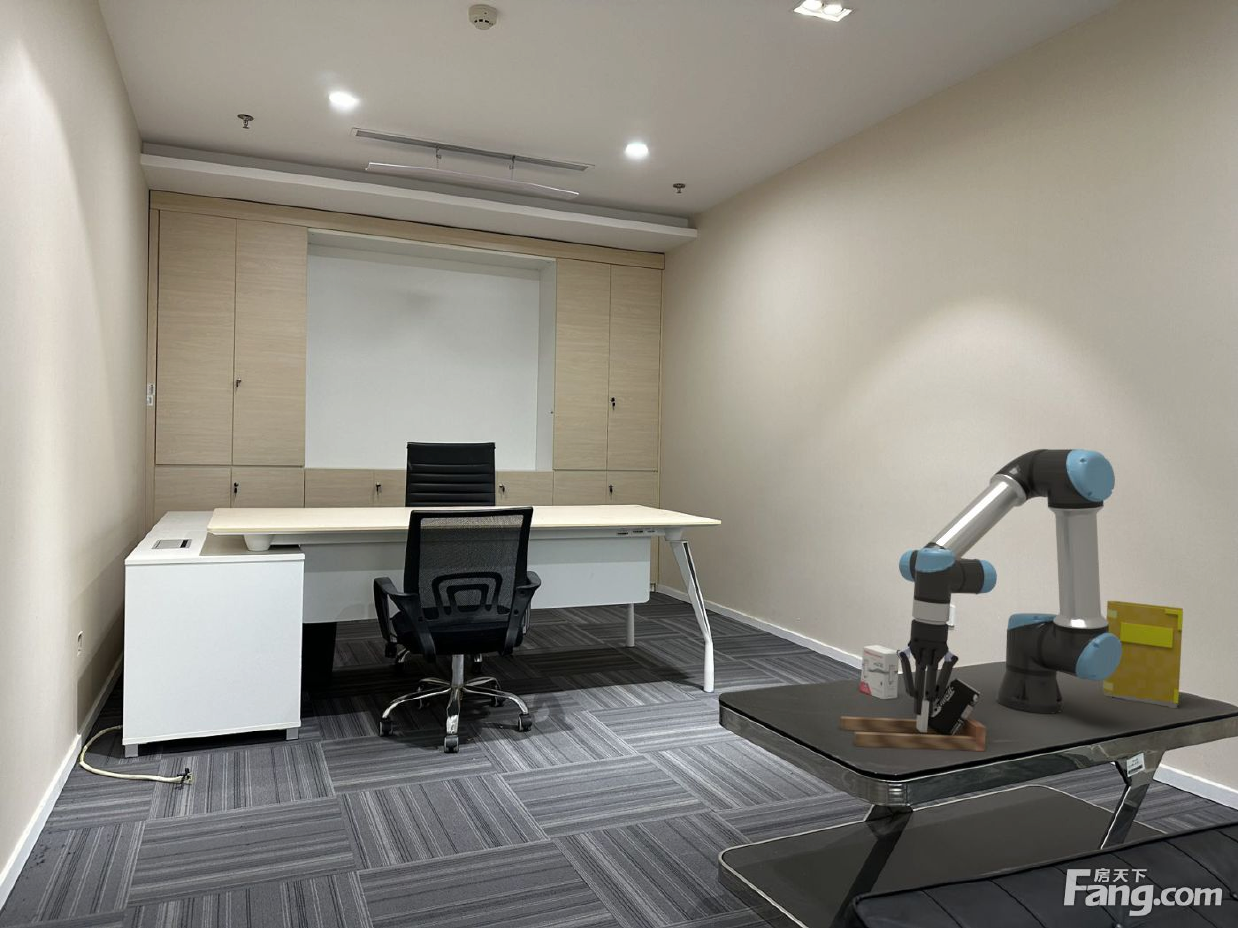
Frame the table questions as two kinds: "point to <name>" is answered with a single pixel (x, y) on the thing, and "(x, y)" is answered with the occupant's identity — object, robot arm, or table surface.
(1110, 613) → the book
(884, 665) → the ink box
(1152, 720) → the table surface
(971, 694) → the beverage can
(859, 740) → the channel
